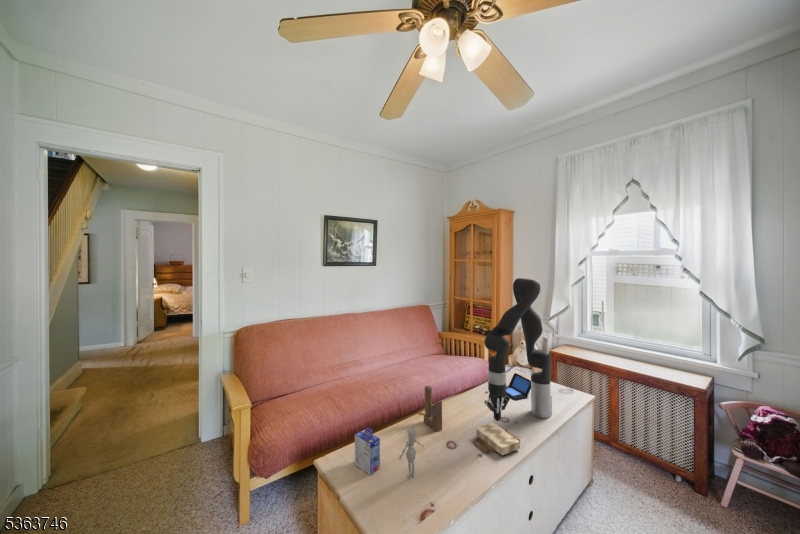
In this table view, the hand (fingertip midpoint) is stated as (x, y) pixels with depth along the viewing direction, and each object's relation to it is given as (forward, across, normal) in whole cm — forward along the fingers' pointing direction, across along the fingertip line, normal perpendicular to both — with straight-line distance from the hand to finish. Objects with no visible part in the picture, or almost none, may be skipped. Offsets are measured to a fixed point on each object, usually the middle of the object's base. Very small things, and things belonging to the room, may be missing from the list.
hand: (497, 420), depth 128 cm
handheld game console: (+11, +45, +33) cm, 57 cm away
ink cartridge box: (+11, -56, +12) cm, 58 cm away
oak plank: (+8, 0, +8) cm, 12 cm away
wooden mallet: (+11, -18, +25) cm, 33 cm away
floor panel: (+11, +1, +1) cm, 11 cm away
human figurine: (+11, -43, -1) cm, 44 cm away
